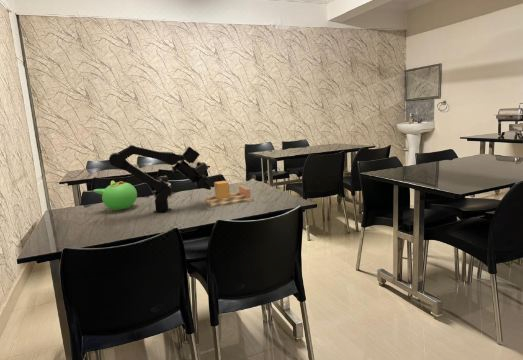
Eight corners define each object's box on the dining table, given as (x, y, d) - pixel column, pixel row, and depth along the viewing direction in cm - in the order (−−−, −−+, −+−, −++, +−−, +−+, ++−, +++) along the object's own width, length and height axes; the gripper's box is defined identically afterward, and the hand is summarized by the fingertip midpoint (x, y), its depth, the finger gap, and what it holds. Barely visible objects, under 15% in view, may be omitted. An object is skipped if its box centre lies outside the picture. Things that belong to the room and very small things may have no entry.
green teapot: (125, 213, 179) (121, 184, 177) (95, 213, 183) (91, 185, 180) (144, 204, 197) (141, 177, 194) (116, 204, 200) (112, 177, 197)
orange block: (218, 201, 188) (217, 184, 186) (215, 198, 193) (214, 182, 191) (229, 199, 190) (228, 182, 188) (226, 197, 195) (225, 180, 194)
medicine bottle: (169, 198, 208) (166, 177, 205) (156, 198, 208) (154, 178, 205) (172, 195, 215) (170, 175, 212) (160, 195, 215) (158, 175, 212)
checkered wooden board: (211, 207, 182) (211, 201, 182) (204, 201, 195) (204, 196, 195) (252, 200, 191) (252, 195, 190) (243, 195, 203) (242, 190, 203)
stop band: (246, 198, 190) (246, 189, 189) (239, 194, 201) (238, 185, 200) (250, 198, 191) (249, 189, 190) (242, 194, 202) (241, 185, 201)
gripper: (201, 159, 174) (225, 179, 181) (193, 156, 191) (215, 174, 198) (186, 178, 173) (211, 197, 179) (179, 172, 190) (202, 190, 196)
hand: (210, 189), depth 188 cm, fingers closed
